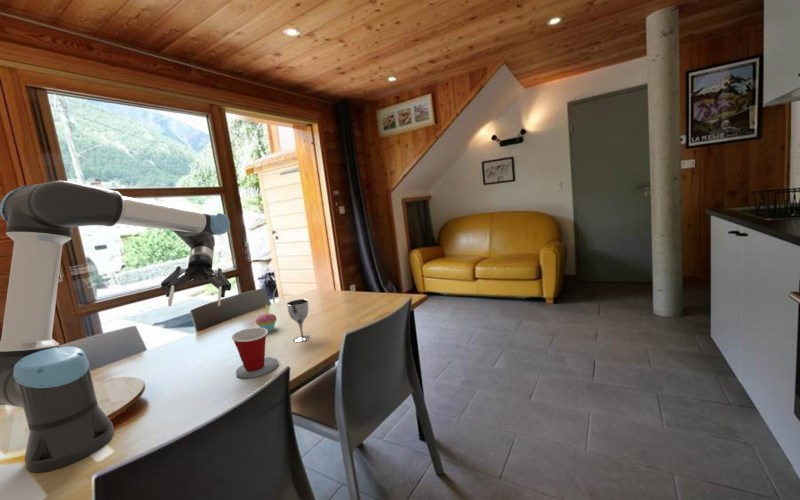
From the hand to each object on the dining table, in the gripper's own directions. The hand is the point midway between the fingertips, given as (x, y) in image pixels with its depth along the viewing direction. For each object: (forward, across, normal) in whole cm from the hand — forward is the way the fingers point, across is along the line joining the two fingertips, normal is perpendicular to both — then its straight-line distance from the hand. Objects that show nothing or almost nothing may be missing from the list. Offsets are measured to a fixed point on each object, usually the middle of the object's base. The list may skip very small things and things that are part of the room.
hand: (195, 303), depth 110 cm
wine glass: (0, -37, -19) cm, 42 cm away
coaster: (+17, -20, -14) cm, 29 cm away
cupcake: (-17, -27, -33) cm, 46 cm away
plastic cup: (+17, -19, -13) cm, 28 cm away
